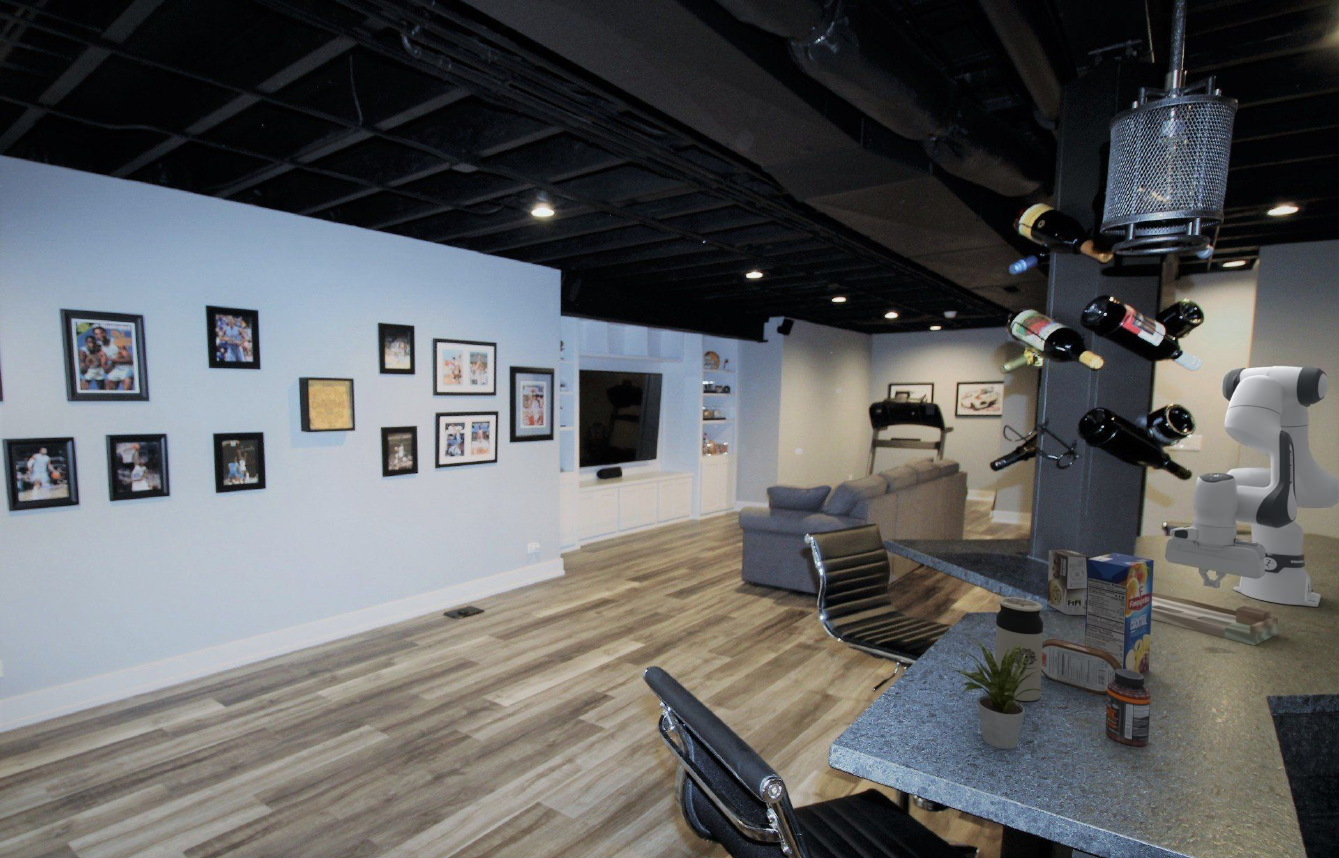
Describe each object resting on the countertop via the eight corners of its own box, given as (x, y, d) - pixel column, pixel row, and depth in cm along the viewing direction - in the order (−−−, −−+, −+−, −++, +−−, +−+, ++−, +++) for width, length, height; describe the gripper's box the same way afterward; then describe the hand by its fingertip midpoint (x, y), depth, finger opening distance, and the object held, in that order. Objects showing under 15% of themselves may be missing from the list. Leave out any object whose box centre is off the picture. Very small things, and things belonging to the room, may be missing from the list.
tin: (1123, 696, 122) (1125, 653, 122) (1120, 701, 120) (1121, 658, 119) (1037, 672, 133) (1038, 633, 132) (1032, 676, 131) (1034, 636, 130)
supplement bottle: (1097, 727, 110) (1100, 664, 109) (1133, 730, 109) (1136, 666, 109) (1118, 746, 104) (1121, 679, 103) (1157, 748, 103) (1160, 681, 103)
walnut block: (1244, 618, 161) (1244, 605, 161) (1269, 625, 156) (1270, 611, 156) (1235, 622, 158) (1236, 608, 158) (1261, 628, 154) (1262, 614, 154)
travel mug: (994, 680, 128) (997, 594, 127) (1039, 689, 124) (1042, 600, 124) (993, 696, 121) (997, 605, 120) (1041, 706, 117) (1045, 611, 117)
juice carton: (1110, 657, 141) (1114, 552, 140) (1149, 670, 134) (1154, 559, 133) (1083, 669, 134) (1087, 558, 133) (1122, 682, 128) (1127, 566, 127)
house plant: (969, 708, 116) (972, 621, 116) (1054, 736, 107) (1058, 642, 106) (940, 736, 106) (943, 642, 105) (1032, 770, 96) (1036, 666, 96)
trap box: (1143, 602, 182) (1144, 586, 182) (1277, 634, 157) (1278, 616, 157) (1117, 609, 174) (1118, 594, 174) (1253, 645, 149) (1254, 626, 149)
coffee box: (1089, 615, 170) (1092, 556, 169) (1065, 614, 170) (1067, 556, 169) (1068, 604, 179) (1071, 549, 178) (1046, 604, 179) (1048, 548, 178)
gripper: (1270, 541, 157) (1268, 595, 158) (1173, 526, 175) (1171, 575, 176) (1261, 544, 154) (1258, 599, 155) (1162, 529, 172) (1161, 578, 172)
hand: (1211, 586), depth 165 cm, fingers closed
